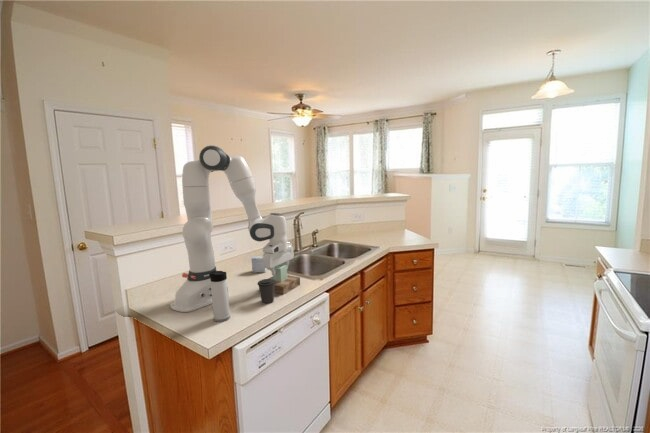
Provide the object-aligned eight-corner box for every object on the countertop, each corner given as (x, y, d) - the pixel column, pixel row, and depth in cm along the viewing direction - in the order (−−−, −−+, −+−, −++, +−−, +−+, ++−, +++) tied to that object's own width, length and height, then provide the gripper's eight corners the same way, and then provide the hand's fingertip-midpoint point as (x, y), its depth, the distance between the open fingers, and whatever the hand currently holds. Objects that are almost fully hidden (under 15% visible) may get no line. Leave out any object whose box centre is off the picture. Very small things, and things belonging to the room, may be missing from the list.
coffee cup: (268, 306, 131) (266, 284, 129) (254, 302, 135) (253, 281, 133) (280, 299, 137) (279, 278, 136) (267, 296, 142) (265, 276, 140)
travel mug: (210, 320, 120) (205, 272, 117) (223, 313, 126) (219, 267, 123) (219, 324, 117) (215, 275, 114) (233, 317, 122) (229, 270, 119)
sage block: (281, 282, 148) (280, 268, 147) (273, 280, 151) (272, 267, 150) (287, 278, 153) (286, 265, 151) (279, 277, 155) (279, 264, 154)
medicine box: (267, 270, 180) (266, 256, 178) (265, 272, 175) (264, 258, 174) (254, 270, 180) (253, 256, 179) (252, 272, 176) (251, 258, 175)
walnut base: (283, 294, 143) (283, 286, 142) (261, 289, 150) (260, 282, 149) (300, 284, 155) (299, 277, 154) (278, 280, 162) (278, 273, 161)
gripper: (286, 240, 159) (287, 265, 162) (260, 249, 142) (261, 277, 144) (296, 241, 156) (297, 266, 158) (270, 250, 139) (271, 279, 141)
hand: (280, 271), depth 151 cm, fingers open, 8 cm apart
